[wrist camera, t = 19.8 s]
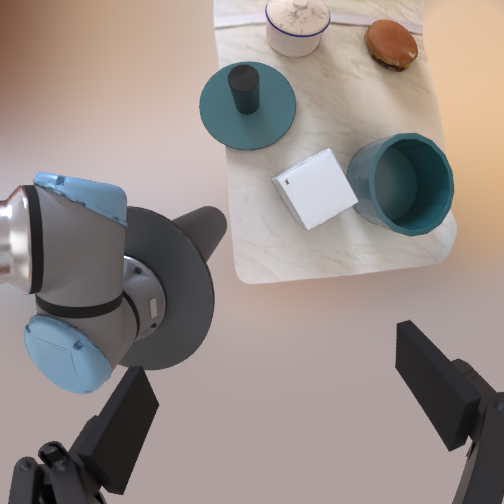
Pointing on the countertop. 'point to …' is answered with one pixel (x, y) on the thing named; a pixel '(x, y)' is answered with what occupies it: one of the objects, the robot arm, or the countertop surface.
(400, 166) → the tin
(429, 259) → the countertop surface
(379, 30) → the burger
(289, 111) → the tin lid
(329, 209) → the white packaging box
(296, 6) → the teacup with lid
